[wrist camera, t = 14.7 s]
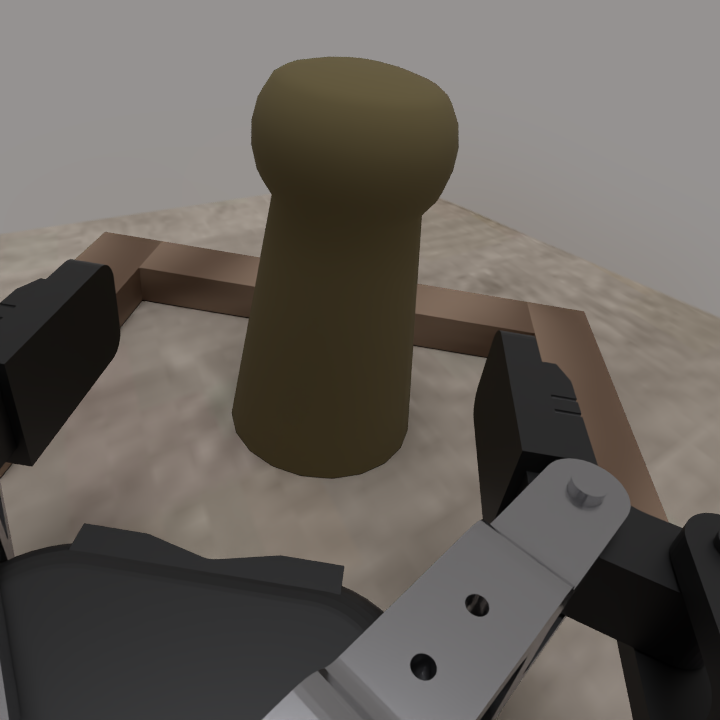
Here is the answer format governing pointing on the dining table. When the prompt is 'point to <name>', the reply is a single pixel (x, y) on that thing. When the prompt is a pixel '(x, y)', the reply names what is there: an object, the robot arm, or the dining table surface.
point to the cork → (339, 260)
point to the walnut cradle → (432, 329)
